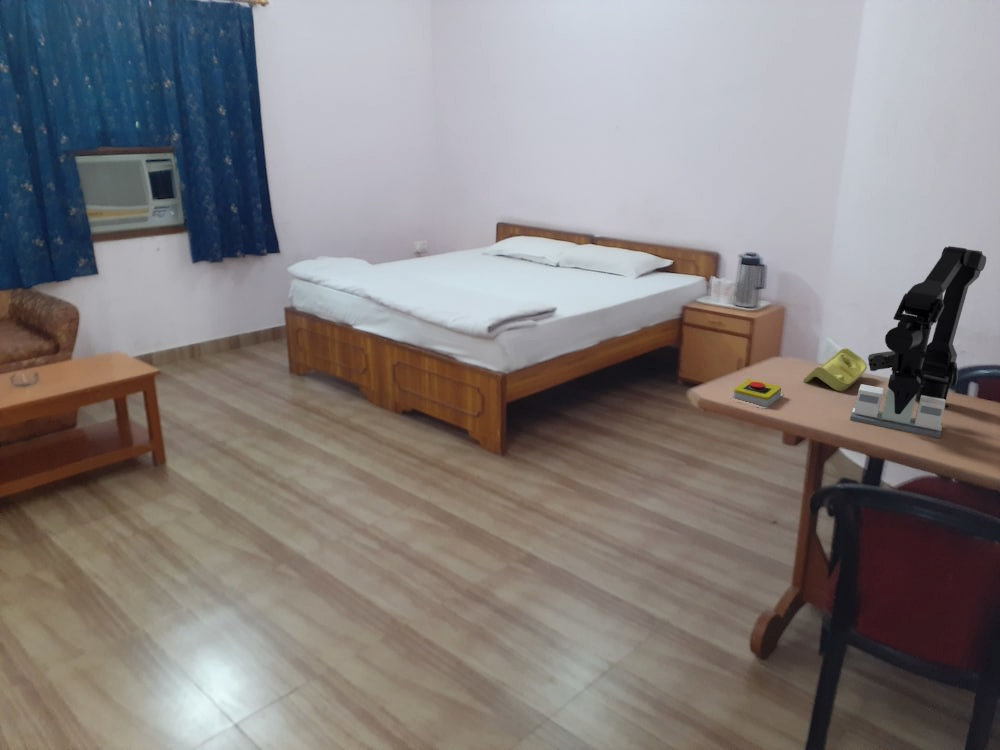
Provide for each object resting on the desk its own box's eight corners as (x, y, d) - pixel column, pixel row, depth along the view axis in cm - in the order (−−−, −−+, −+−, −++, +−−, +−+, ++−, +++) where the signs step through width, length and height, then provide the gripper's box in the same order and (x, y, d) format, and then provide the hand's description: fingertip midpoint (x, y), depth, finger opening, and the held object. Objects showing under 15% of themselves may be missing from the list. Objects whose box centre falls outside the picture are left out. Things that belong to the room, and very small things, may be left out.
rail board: (940, 427, 175) (947, 398, 173) (940, 438, 169) (947, 408, 166) (853, 410, 184) (859, 382, 182) (849, 419, 178) (855, 391, 175)
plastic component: (847, 386, 195) (815, 362, 199) (831, 405, 199) (800, 382, 203) (872, 365, 208) (841, 344, 212) (856, 384, 213) (826, 363, 217)
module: (910, 417, 177) (916, 390, 175) (909, 424, 173) (916, 396, 170) (882, 412, 180) (888, 385, 177) (881, 418, 175) (887, 390, 173)
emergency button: (730, 386, 186) (751, 372, 198) (728, 402, 188) (749, 387, 199) (767, 394, 181) (786, 380, 192) (764, 411, 182) (783, 396, 194)
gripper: (877, 330, 182) (865, 390, 187) (870, 348, 166) (857, 412, 171) (929, 338, 176) (914, 399, 181) (926, 357, 161) (911, 423, 166)
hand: (898, 408), depth 175 cm, fingers open, 9 cm apart
